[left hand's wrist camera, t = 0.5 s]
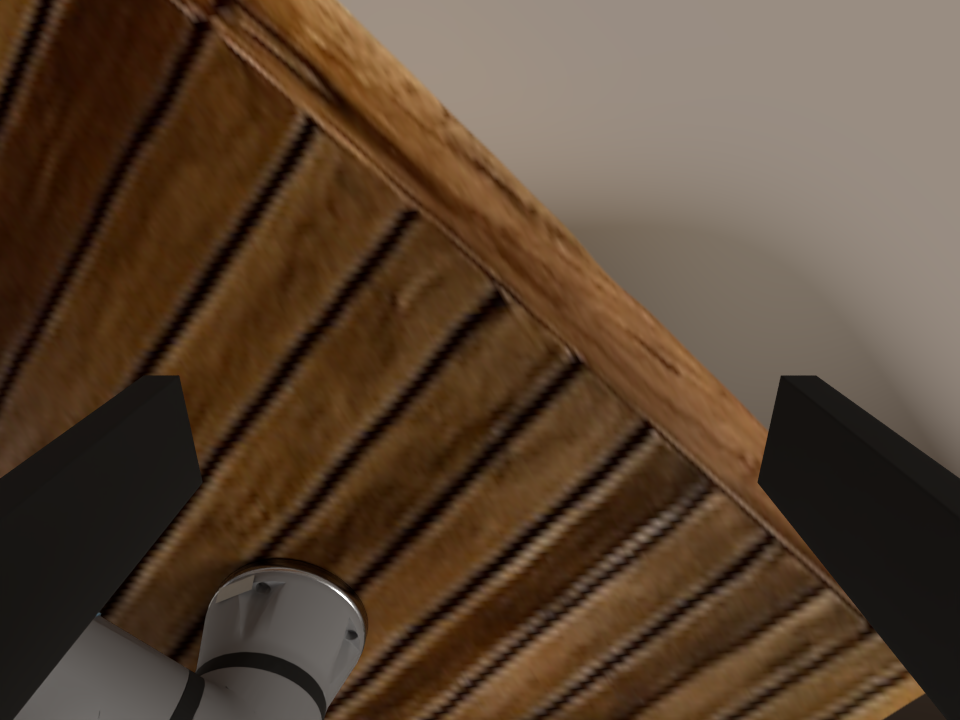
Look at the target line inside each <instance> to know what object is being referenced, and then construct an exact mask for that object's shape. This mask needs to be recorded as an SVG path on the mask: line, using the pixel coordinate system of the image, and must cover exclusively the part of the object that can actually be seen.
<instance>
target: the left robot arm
mask: <svg viewBox="0 0 960 720" xmlns="http://www.w3.org/2000/svg"><path fill="white" fill-rule="evenodd" d="M201 484H202V478H201V473H200V469H199V464H198V460H197V455H196V451H195V446H194V442H193V437H192V432H191V428H190V423H189V419H188V414H187V410H186V405H185V400H184V396H183V391H182V387H181V382H180V378H179V376H143V377H141V378H140V379H138V380H137V381H136V382H134V383H133V384H131V385H130V386H129V387H127V388H126V389H125V390H123V391H122V392H120V393H119V394H118V395H116V396H115V397H113V398H112V399H111V400H109V401H108V402H106V403H105V404H104V405H102V406H101V407H99V408H98V409H97V410H95V411H94V412H92V413H91V414H90V415H88V416H87V417H85V418H84V419H83V420H81V421H80V422H78V423H77V424H76V425H74V426H73V427H71V428H70V429H69V430H67V431H66V432H64V433H63V434H62V435H60V436H59V437H58V438H56V439H55V440H53V441H52V442H51V443H49V444H48V445H46V446H45V447H44V448H42V449H41V450H39V451H38V452H37V453H35V454H34V455H32V456H31V457H30V458H28V459H27V460H25V461H24V462H23V463H21V464H20V465H18V466H17V467H16V468H14V469H13V470H11V471H10V472H9V473H7V474H6V475H4V476H3V477H2V478H0V720H324V717H325V714H326V711H327V708H328V706H329V705H330V703H331V702H332V700H333V699H334V697H335V696H336V694H337V693H338V691H339V690H340V688H341V687H342V685H343V684H344V682H345V681H346V679H347V677H348V676H349V674H350V673H351V671H352V670H353V668H354V667H355V665H356V664H357V662H358V660H359V658H360V656H361V654H362V651H363V648H364V644H365V640H366V636H367V631H368V618H367V614H366V611H365V608H364V606H363V604H362V602H361V600H360V599H359V597H358V596H357V594H356V593H355V592H354V591H353V590H352V589H351V588H350V586H348V585H347V584H346V583H345V582H344V581H343V580H341V579H340V578H338V577H337V576H335V575H334V574H332V573H330V572H328V571H326V570H324V569H322V568H320V567H317V566H314V565H311V564H308V563H304V562H300V561H294V560H281V559H276V560H265V561H259V562H255V563H252V564H248V565H246V566H244V567H241V568H240V569H238V570H236V571H235V572H233V573H232V574H230V575H229V576H228V577H227V578H226V579H225V580H224V581H223V583H222V584H221V585H220V587H219V589H218V590H217V592H216V594H215V595H214V597H213V599H212V601H211V603H210V605H209V608H208V611H207V614H206V619H205V624H204V630H203V636H202V642H201V647H200V653H199V659H198V665H197V670H196V672H195V673H194V672H192V671H190V670H189V669H187V668H185V667H184V666H182V665H181V664H179V663H177V662H176V661H174V660H172V659H171V658H169V657H167V656H166V655H164V654H162V653H161V652H159V651H157V650H156V649H154V648H152V647H151V646H149V645H147V644H146V643H144V642H142V641H141V640H139V639H137V638H136V637H134V636H132V635H131V634H129V633H128V632H126V631H124V630H123V629H121V628H119V627H118V626H116V625H114V624H113V623H111V622H109V621H108V620H106V619H104V618H103V617H101V613H100V610H101V609H102V608H103V607H104V605H105V604H106V603H107V602H108V600H109V599H110V598H111V597H112V595H113V594H114V593H115V592H116V590H117V589H118V588H119V586H120V585H121V584H122V583H123V581H124V580H125V579H126V578H127V576H128V575H129V574H130V573H131V571H132V570H133V569H134V568H135V566H136V565H137V564H138V563H139V561H140V560H141V559H142V558H143V556H144V555H145V554H146V553H147V551H148V550H149V549H150V548H151V546H152V545H153V544H154V543H155V541H156V540H157V539H158V538H159V536H160V535H161V534H162V533H163V531H164V530H165V529H166V528H167V526H168V525H169V524H170V523H171V521H172V520H173V519H174V518H175V516H176V515H177V514H178V513H179V511H180V510H181V509H182V508H183V506H184V505H185V504H186V503H187V501H188V500H189V499H190V498H191V496H192V495H193V494H194V493H195V491H196V490H197V489H198V488H199V486H200V485H201ZM758 484H759V485H760V486H761V488H762V489H763V490H764V491H765V493H766V494H767V495H768V496H769V498H770V499H771V500H772V501H773V503H774V504H775V505H776V506H777V508H778V509H779V510H780V511H781V513H782V514H783V515H784V516H785V518H786V519H787V520H788V521H789V523H790V524H791V525H792V526H793V528H794V529H795V530H796V531H797V533H798V534H799V535H800V536H801V538H802V539H803V540H804V541H805V543H806V544H807V545H808V546H809V548H810V549H811V550H812V551H813V553H814V554H815V555H816V556H817V558H818V559H819V560H820V561H821V563H822V564H823V565H824V566H825V568H826V569H827V570H828V571H829V573H830V574H831V575H832V576H833V578H834V579H835V580H836V581H837V583H838V584H839V585H840V587H841V588H842V589H843V590H844V592H845V593H846V594H847V595H848V597H849V598H850V599H851V600H852V602H853V603H854V604H855V605H856V607H857V608H858V609H859V610H860V612H861V613H862V614H863V615H864V617H865V618H866V619H867V620H868V622H869V623H870V624H871V625H872V627H873V628H874V629H875V630H876V632H877V633H878V634H879V635H880V637H881V638H882V639H883V640H884V642H885V643H886V644H887V645H888V647H889V648H890V649H891V650H892V652H893V653H894V654H895V655H896V657H897V658H898V659H899V660H900V662H901V663H902V664H903V665H904V667H905V668H906V669H907V670H908V672H909V673H910V674H911V675H912V677H913V678H914V679H915V680H916V682H917V683H918V684H919V685H920V687H921V688H922V689H923V691H924V692H925V693H926V694H927V695H928V697H929V698H930V699H931V700H932V702H933V703H934V704H935V706H936V707H937V708H938V709H939V710H940V712H941V713H942V714H943V716H944V717H945V718H946V719H947V720H960V478H958V477H957V476H955V475H954V474H953V473H951V472H950V471H949V470H947V469H946V468H944V467H943V466H942V465H940V464H939V463H937V462H936V461H935V460H933V459H932V458H930V457H929V456H928V455H926V454H925V453H923V452H922V451H921V450H919V449H918V448H916V447H915V446H914V445H912V444H911V443H909V442H908V441H907V440H905V439H904V438H902V437H901V436H900V435H898V434H897V433H895V432H894V431H893V430H891V429H890V428H889V427H887V426H886V425H884V424H883V423H882V422H880V421H879V420H877V419H876V418H875V417H873V416H872V415H870V414H869V413H868V412H866V411H865V410H863V409H862V408H861V407H859V406H858V405H856V404H855V403H854V402H852V401H851V400H849V399H848V398H847V397H845V396H844V395H842V394H841V393H840V392H838V391H837V390H835V389H834V388H833V387H831V386H830V385H828V384H827V383H826V382H824V381H823V380H822V379H820V378H819V377H817V376H781V378H780V382H779V387H778V391H777V396H776V401H775V405H774V410H773V414H772V419H771V423H770V428H769V432H768V437H767V441H766V446H765V451H764V455H763V460H762V464H761V469H760V473H759V478H758Z"/></svg>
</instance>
